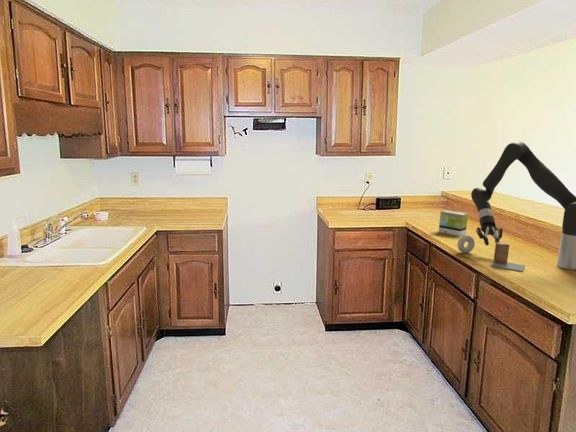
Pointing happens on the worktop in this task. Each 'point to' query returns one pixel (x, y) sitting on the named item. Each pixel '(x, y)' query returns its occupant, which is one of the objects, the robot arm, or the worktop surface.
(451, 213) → the tea box
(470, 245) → the donut
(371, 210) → the worktop surface
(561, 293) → the worktop surface
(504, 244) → the walnut block
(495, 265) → the rubber mat
